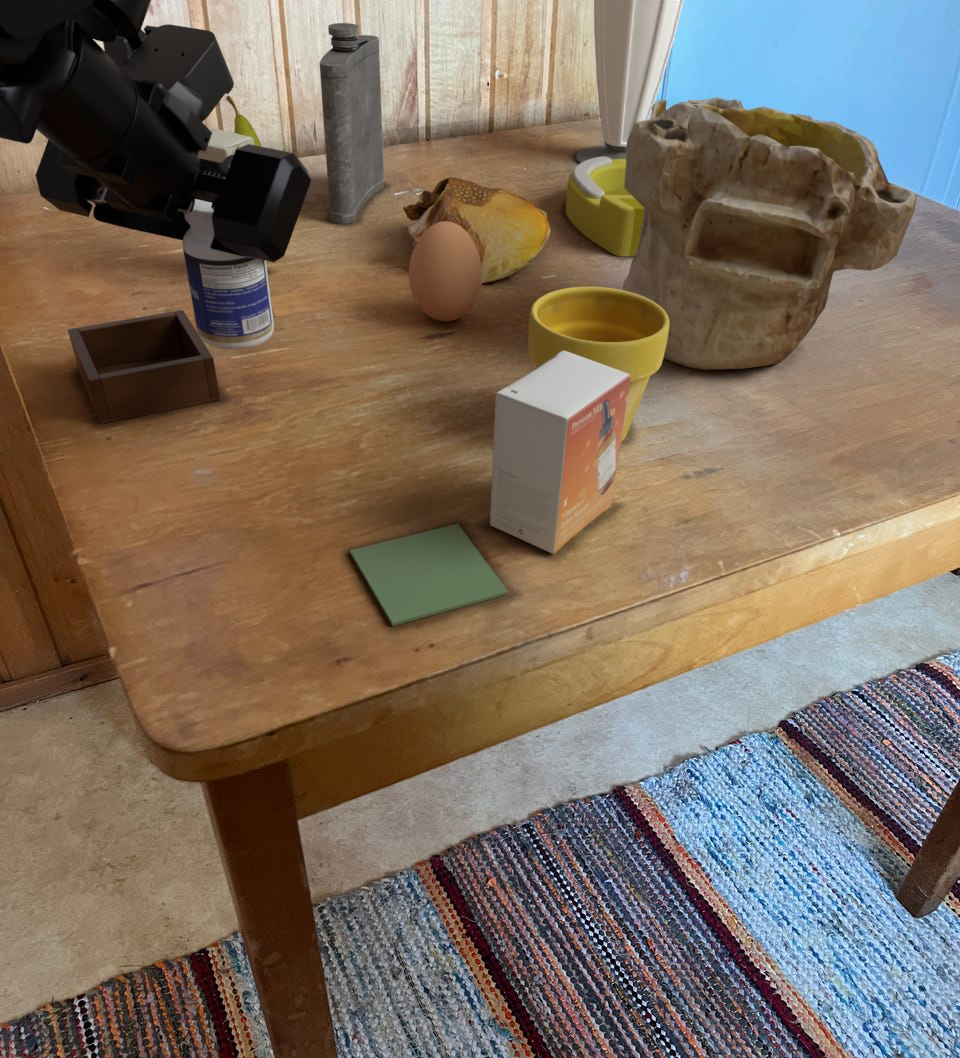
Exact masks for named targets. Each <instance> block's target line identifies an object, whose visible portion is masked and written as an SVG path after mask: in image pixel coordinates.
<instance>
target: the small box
mask: <svg viewBox="0 0 960 1058" xmlns="http://www.w3.org/2000/svg"><path fill="white" fill-rule="evenodd" d="M630 378H631V376H630V374H627V373H625V372H622V371H620V370H617V369H614V368H612V367H609V366H606V365H603V364H600V363H598V362H595V361H592V360H589V359H587V358H584V357H581V356H578V355H576V354H573V353H570V352H567V351H561V352H560V353H558V354H557V355H556V356H555V357H554V358H552V359H551V360H549V361H548V362H546V363H544V364H543V365H541V366H540V367H538V368H537V367H536V368H535V369H534V370H532V371H530V372H529V373H527V374H526V375H524V376H522V377H521V378H519V379H518V380H516V381H515V382H513V383H511V384H509V385H508V386H506V387H503V388H502V389H500V390H499V391H496V393H495V404H494V406H495V408H494V428H493V429H494V430H493V432H494V433H493V447H492V469H491V490H490V516H489V525H490V527H493V528H495V529H497V530H499V531H502V532H504V533H506V534H508V535H510V536H512V537H514V538H517V539H520V540H521V541H524V542H526V543H528V544H530V545H533V546H534V547H537V548H539V549H541V550H543V551H546V552H548V553H550V554H553V555H554V554H556V553H557V552H558V551H559V550H560V549H561V548H562V547H563V546H564V545H565V544H566V543H567V542H569V541H570V540H571V539H573V537H575V536H576V535H578V533H580V532H581V531H582V530H583V529H584V528H586V527H587V526H588V525H589V524H591V522H593V521H594V520H595V519H596V518H597V517H598V516H599V517H600V515H602V513H604V512H605V511H607V510H608V509H609V508H610V507H611V506H612V503H613V497H614V490H615V484H616V477H617V472H618V471H617V470H618V466H619V465H618V464H619V457H620V451H621V444H622V442H621V437H622V431H623V425H624V419H625V412H626V405H627V398H628V392H629V384H630Z"/></svg>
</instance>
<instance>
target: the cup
mask: <svg viewBox="0 0 960 1058" xmlns="http://www.w3.org/2000/svg"><path fill="white" fill-rule="evenodd" d="M684 2H685V0H593V31H594V32H593V33H594V53H595V55H594V56H595V57H594V58H595V75H596V86H597V88H596V89H597V98H598V99H597V101H598V109H599V116H600V123H601V129H602V130H601V131H602V136H603V142H604V145H595V146H589V147H586V148H583V149H581V150H580V151H579V152H577V153H576V161H577V162H578V164H580V163H582V162H584V161H586V160H589V159H592V158H596V157H602V156H603V157H609V158H610V159H626V145H627V140H628V138H629V135H630V133H631V131H632V128H633V125H634V123H636V122H640V121H644V120H650V119H651V116H652V107H653V104H654V103H656V100H657V98H658V94H659V91H660V88H661V85H662V82H663V79H664V75H665V72H666V70H667V69H666V68H667V65H668V61H669V59H670V54H671V51H672V48H673V45H674V41H675V37H676V33H677V30H678V25H679V22H680V18H681V14H682V10H683V6H684Z"/></svg>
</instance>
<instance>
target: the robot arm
mask: <svg viewBox="0 0 960 1058" xmlns="http://www.w3.org/2000/svg"><path fill="white" fill-rule="evenodd" d="M151 3H152V0H0V139H3V140H8V141H13V142H16V143H22V144H25V145H27V144H30V143H32V141H33V140H34V137H35V134H36V131H38V132H39V133H40V134H41V135H42V136H44V137H45V138H46V139H47V142H46V145H45V148H44V150H43V153H42V156H41V159H40V162H39V164H38V166H37V169H36V172H35V179H36V182H37V187H38V191H39V195H40V197H41V198H43V199H44V200H46V201H47V202H48V203H50V204H51V205H52V206H53V207H55V208H56V209H58V210H59V211H62V212H65V213H69V214H74V215H78V216H82V217H86V218H89V217H90V215H91V212H92V216H93V218H94V220H96V221H98V222H100V223H104V224H109V225H112V226H116V227H119V228H125V229H128V230H134V231H138V232H142V233H147V234H153V235H157V236H160V237H166V238H170V239H174V240H179V241H183V238H184V235H185V233H186V232H187V231H188V230H189V229H190V224H189V223H188V222H187V221H186V219H185V215H184V213H187V214H189V213H191V212H192V211H193V208H194V205H195V199H198V200H202V201H206V202H211V203H212V206H211V208H212V209H213V210H214V211H213V214H212V222H213V229H214V238H213V240H212V243H211V246H210V248H211V249H214V250H218V251H222V252H226V253H230V254H234V255H238V256H242V257H250V258H256V259H261V260H266V262H269V263H275V262H277V261H279V260H280V259H282V258H283V257H285V255H286V253H287V249H288V247H289V244H290V241H291V239H292V235H293V233H294V231H295V228H296V225H297V222H298V219H299V216H300V213H301V210H302V208H303V205H304V202H305V200H306V197H307V194H308V192H309V189H310V186H311V183H312V181H313V180H312V178H311V175H310V173H309V171H308V169H307V167H305V165H304V164H303V163H302V161H301V160H300V159H299V157H298V156H297V155H296V154H295V153H294V152H290V151H286V150H285V151H284V150H279V149H274V148H269V147H265V146H262V145H261V146H262V147H261V146H256V145H251V144H248V145H245V146H243V147H240V148H238V149H236V150H235V153H234V155H230V156H228V157H226V158H225V160H224V161H223V162H215V161H210V160H206V159H201V158H198V157H197V156H198V153H199V150H202V151H206V149H207V146H208V144H209V141H210V138H211V135H212V132H211V131H210V130H209V129H210V128H208V126H207V125H206V124H205V123H204V121H205V120H206V119H207V118H208V117H209V116H210V115H211V114H212V112H213V111H214V109H215V108H216V107H217V105H218V104H219V103H220V101H221V100H222V99H223V98H224V97H225V95H229V94H230V93H231V91H232V90H233V88H234V85H235V82H234V79H233V76H232V73H231V72H230V69H229V66H228V64H227V62H226V59H225V57H224V54H223V52H222V50H221V49H222V48H221V47H220V44H219V42H218V40H217V38H216V35H215V33H214V32H213V31H210V30H208V29H201V28H194V27H190V26H189V27H188V26H183V25H176V24H171V23H170V24H161V25H159V26H154V25H148V24H147V25H145V26H144V28H143V29H142V27H143V25H144V21H145V19H146V16H147V13H148V11H149V8H150V6H151ZM96 41H97V42H102V45H103V48H102V47H101V46H100V45H99V44H98V43H97V42H96ZM223 177H224V178H225V179H223ZM91 202H92V203H93V204H94V207H93V204H92V203H91ZM92 209H93V210H92Z"/></svg>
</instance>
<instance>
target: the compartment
mask: <svg viewBox="0 0 960 1058" xmlns="http://www.w3.org/2000/svg"><path fill="white" fill-rule="evenodd" d="M67 333H68V336H69V340H70V343H71V347H72V352H73V355H74V359H75V363H76V365H77V370H78V373H79V375H80V378H81V380H82V383H83V385H84V388H85V389H86V392H87V395H88V397H89V399H90V401H91V404H92V406H93V409H94V411H95V413H96V416H97V418H98V420H99V423H100V425H105V424H109V423H114V422H120V421H125V420H130V419H134V418H140V417H145V416H149V415H154V414H159V413H163V412H169V411H173V410H178V409H183V408H188V407H189V408H190V407H195V406H199V405H203V404H207V403H213V402H219V401H221V396H220V395H221V394H220V391H219V390H220V389H219V383H218V378H217V371H216V365H215V359H214V356H213V355H212V354H211V352H210V350H209V348H208V347H207V345H206V343H205V342H204V341H202V340H201V338H200V337H199V335H198V332H197V329H196V328H195V327H194V325H193V324H192V321H191V320H190V319H189V317H188V315H187V314H186V312H185V311H184V310H183V309H181V310H175V311H169V312H162V313H156V314H151V315H145V316H138V317H133V318H126V319H121V320H115V321H109V322H103V323H96V324H91V325H86V326H79V327H74V328H73V327H72V328H68V329H67Z"/></svg>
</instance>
